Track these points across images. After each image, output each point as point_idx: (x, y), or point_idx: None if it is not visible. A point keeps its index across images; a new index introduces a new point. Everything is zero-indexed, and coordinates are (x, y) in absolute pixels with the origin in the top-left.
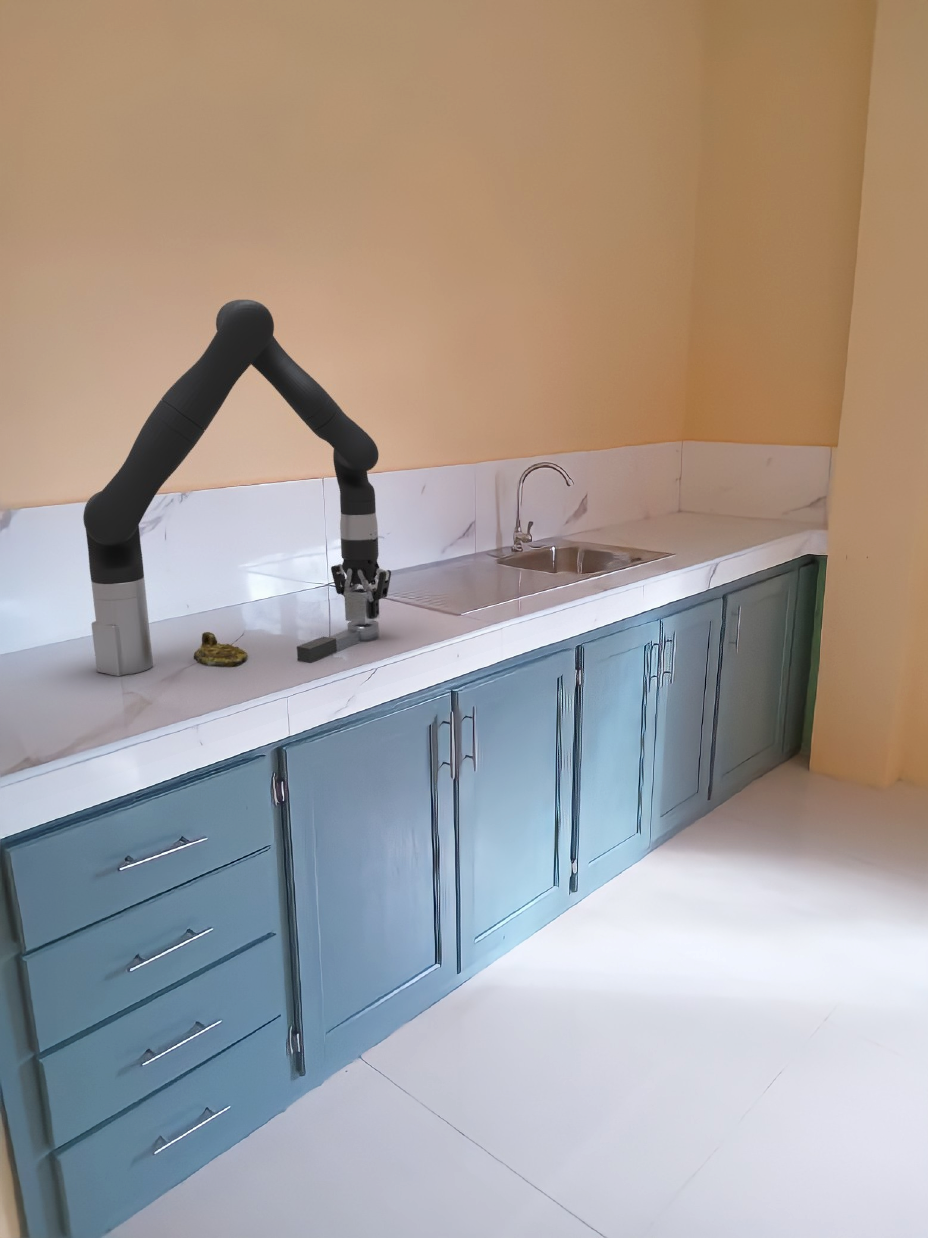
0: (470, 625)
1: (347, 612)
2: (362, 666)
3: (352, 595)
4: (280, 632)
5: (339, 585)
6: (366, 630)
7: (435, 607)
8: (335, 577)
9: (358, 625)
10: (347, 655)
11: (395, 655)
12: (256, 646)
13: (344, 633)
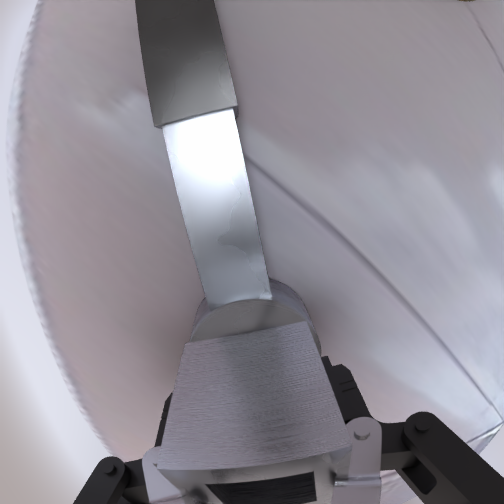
0: None
1: (301, 350)
2: (13, 117)
3: (268, 448)
4: (495, 191)
5: (430, 460)
6: (194, 329)
7: None
8: (478, 482)
9: None
10: (111, 139)
11: (26, 256)
12: (444, 39)
13: (225, 234)
